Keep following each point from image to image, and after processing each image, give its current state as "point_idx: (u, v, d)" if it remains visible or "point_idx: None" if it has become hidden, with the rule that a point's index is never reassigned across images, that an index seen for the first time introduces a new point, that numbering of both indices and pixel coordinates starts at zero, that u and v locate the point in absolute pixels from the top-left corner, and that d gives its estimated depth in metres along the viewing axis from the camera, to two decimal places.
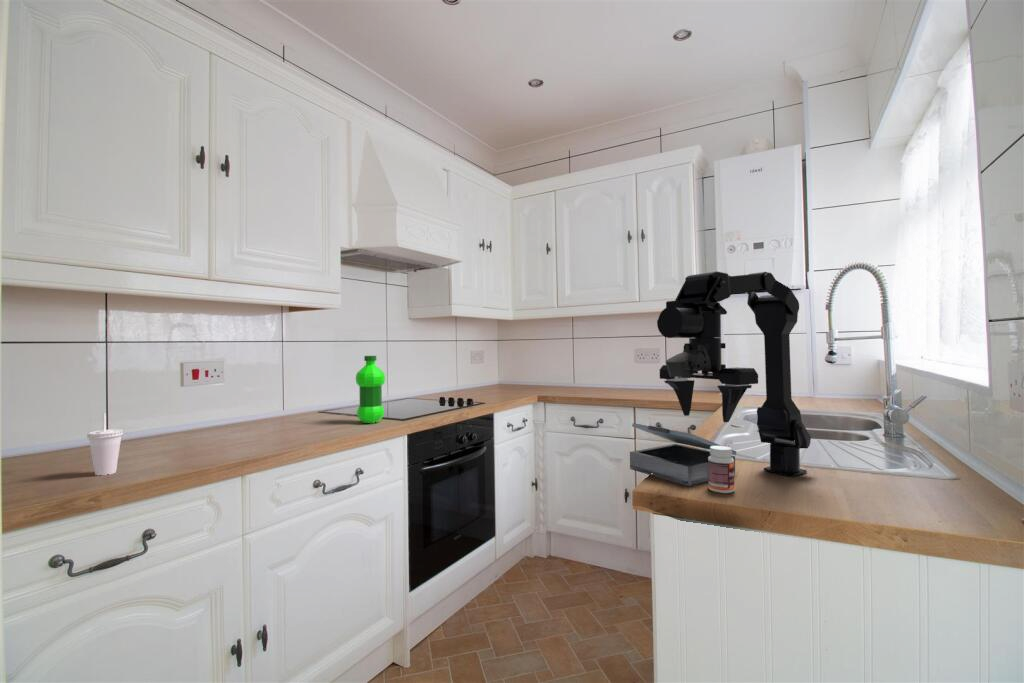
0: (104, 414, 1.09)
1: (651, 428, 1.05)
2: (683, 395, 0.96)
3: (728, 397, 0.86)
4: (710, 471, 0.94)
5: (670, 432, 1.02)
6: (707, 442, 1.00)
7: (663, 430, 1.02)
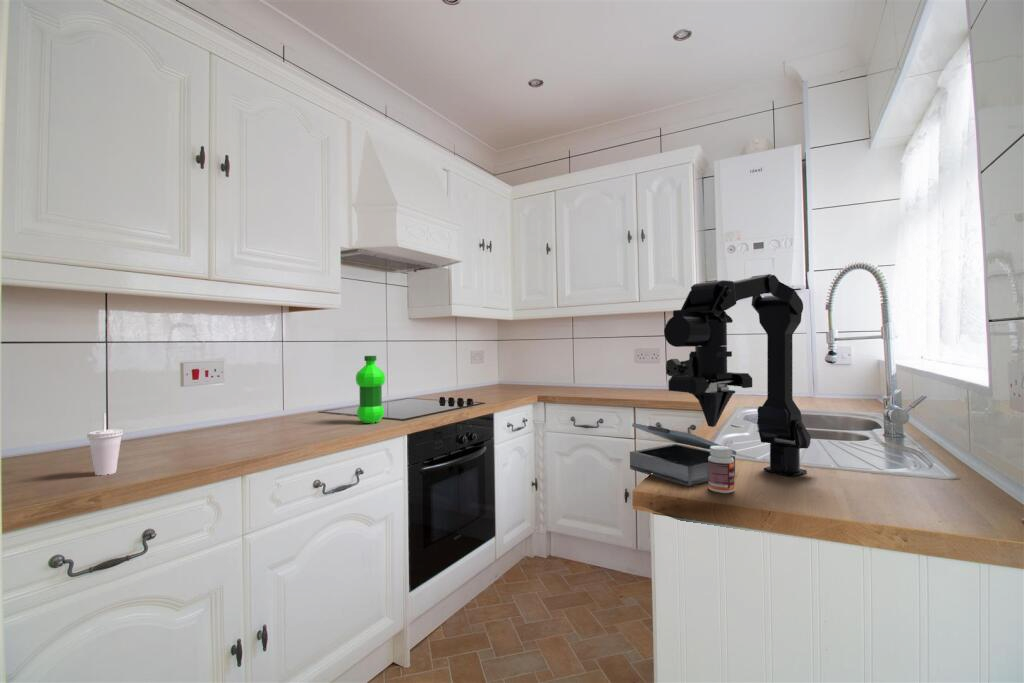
0: (104, 414, 1.09)
1: (651, 428, 1.05)
2: None
3: (699, 401, 0.93)
4: (710, 471, 0.94)
5: (670, 432, 1.02)
6: (707, 442, 1.00)
7: (663, 430, 1.02)
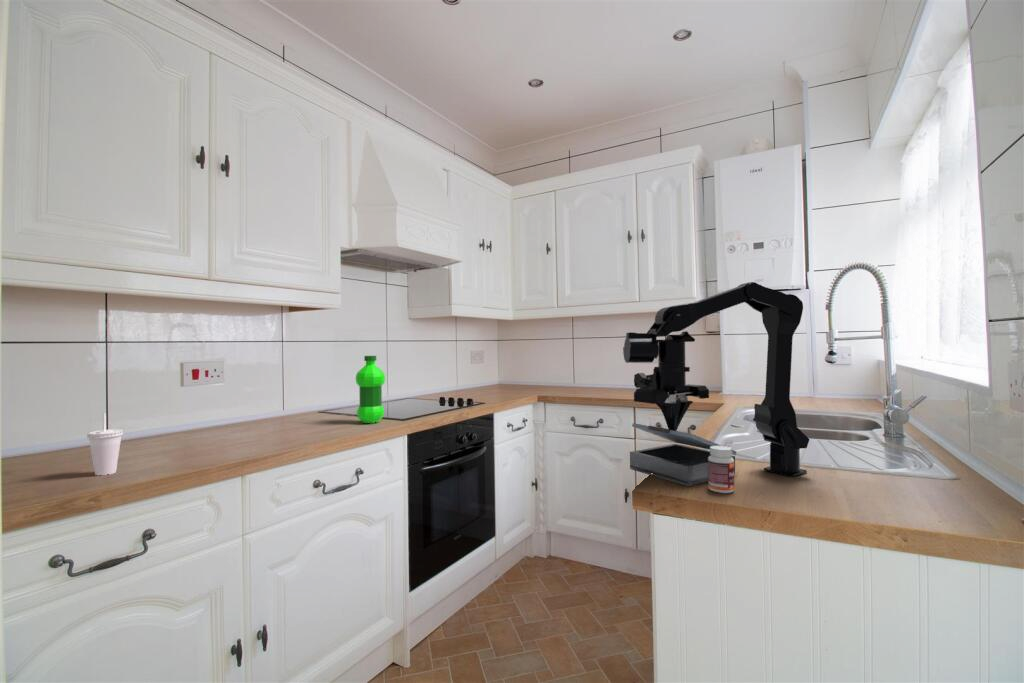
0: (104, 414, 1.09)
1: (651, 428, 1.05)
2: None
3: (661, 410, 1.07)
4: (710, 471, 0.94)
5: (670, 432, 1.02)
6: (707, 442, 1.00)
7: (663, 430, 1.02)
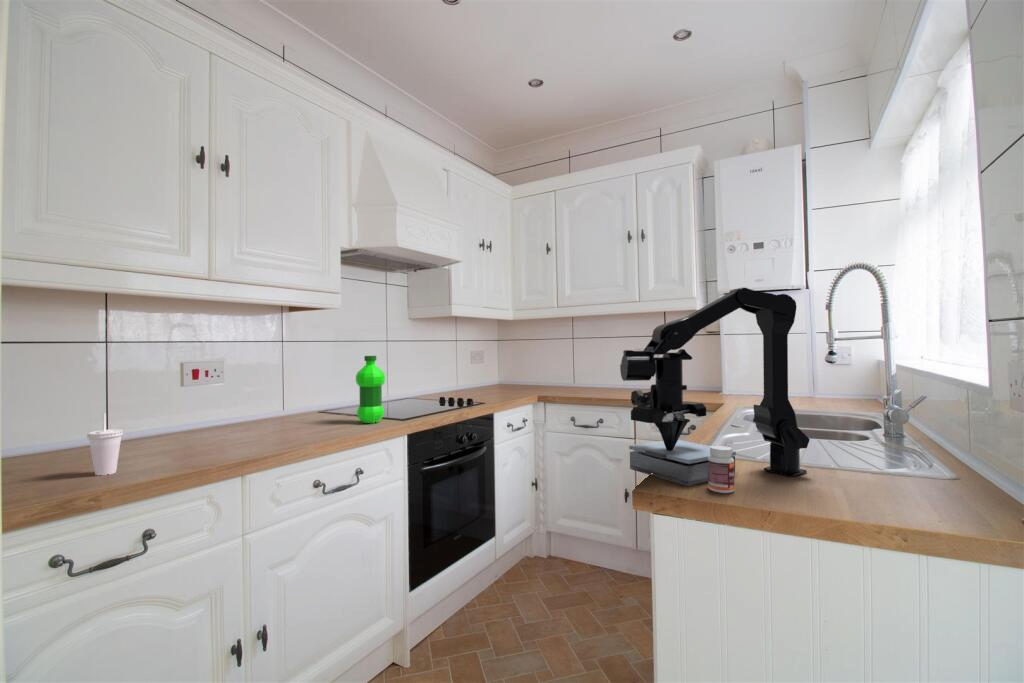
0: (104, 414, 1.09)
1: (648, 453, 1.05)
2: None
3: (658, 428, 1.06)
4: (710, 471, 0.94)
5: (667, 457, 1.01)
6: (705, 459, 1.00)
7: (660, 456, 1.02)
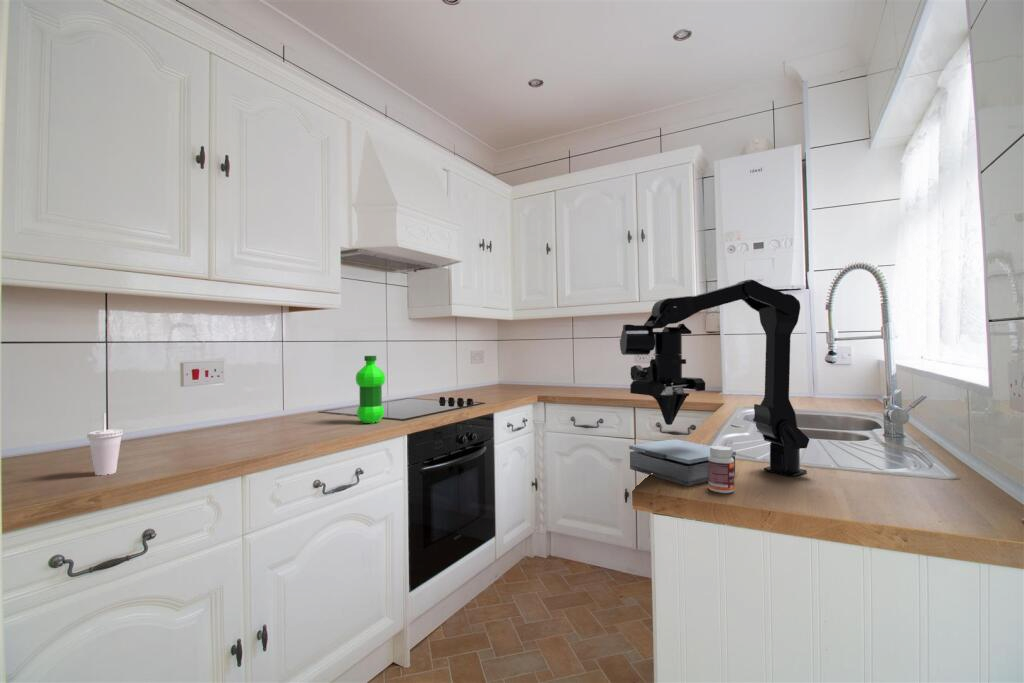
0: (104, 414, 1.09)
1: (648, 453, 1.05)
2: None
3: (658, 403, 1.07)
4: (710, 471, 0.94)
5: (667, 457, 1.01)
6: (705, 459, 1.00)
7: (660, 456, 1.02)
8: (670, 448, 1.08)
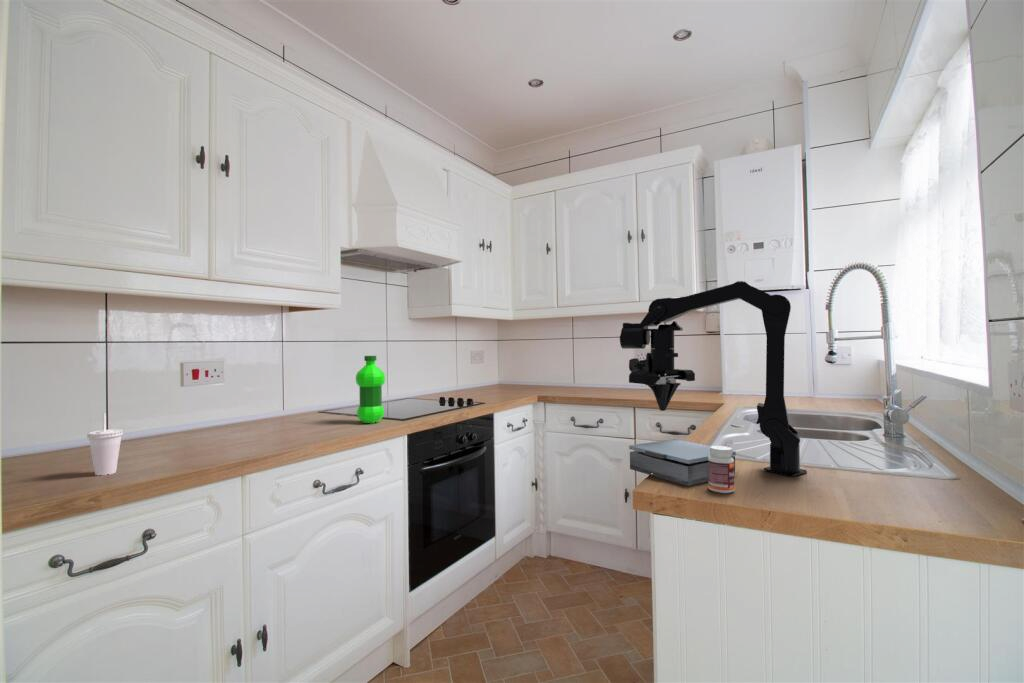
0: (104, 414, 1.09)
1: (648, 453, 1.05)
2: None
3: (653, 391, 1.21)
4: (710, 471, 0.94)
5: (667, 457, 1.01)
6: (705, 459, 1.00)
7: (660, 456, 1.02)
8: (670, 448, 1.08)
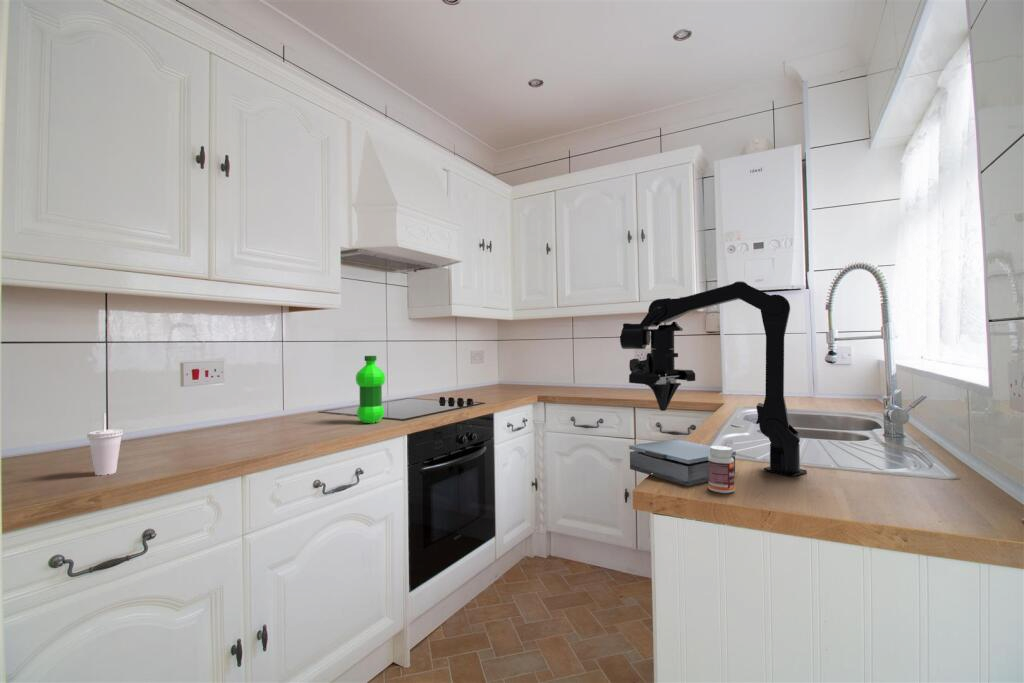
0: (104, 414, 1.09)
1: (648, 453, 1.05)
2: None
3: (653, 391, 1.21)
4: (710, 471, 0.94)
5: (667, 457, 1.01)
6: (705, 459, 1.00)
7: (660, 456, 1.02)
8: (670, 448, 1.08)
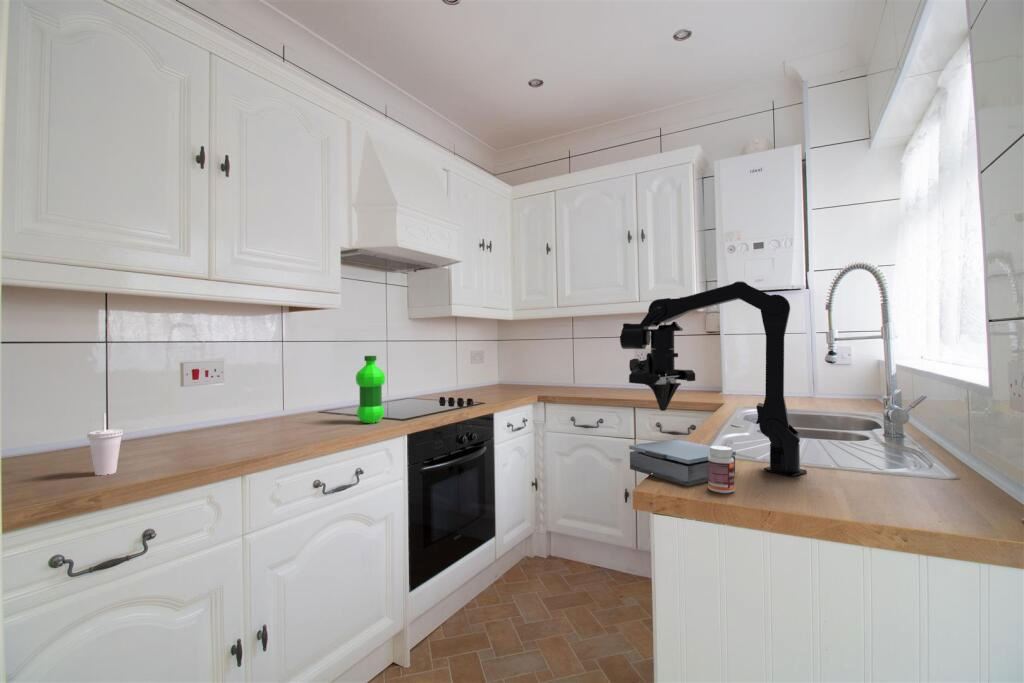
0: (104, 414, 1.09)
1: (648, 453, 1.05)
2: None
3: (653, 391, 1.21)
4: (710, 471, 0.94)
5: (667, 457, 1.01)
6: (705, 459, 1.00)
7: (660, 456, 1.02)
8: (670, 448, 1.08)
